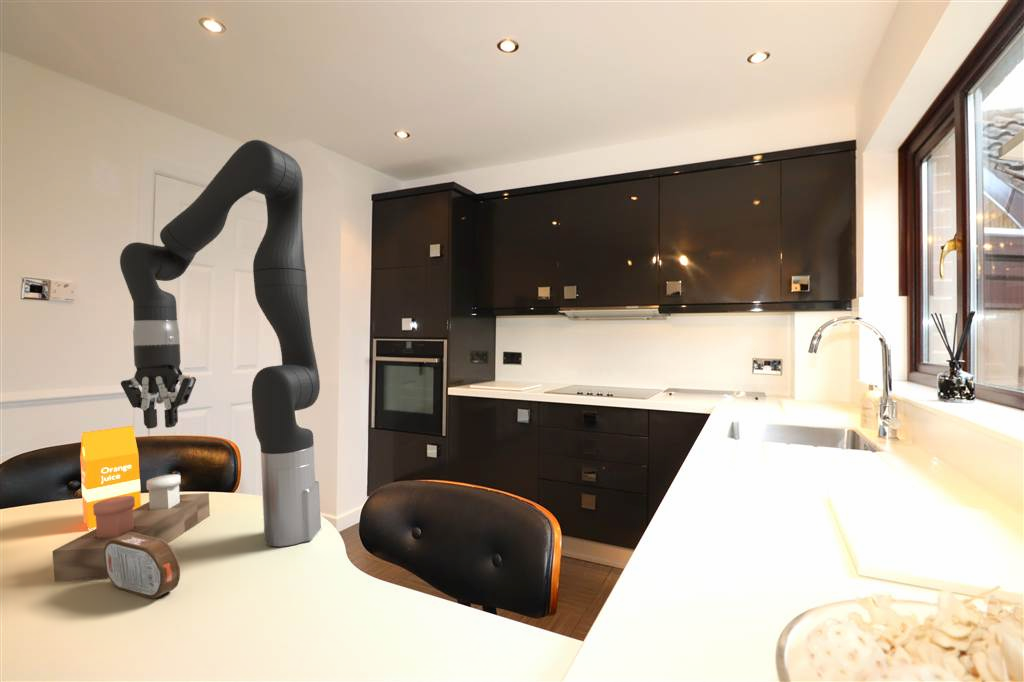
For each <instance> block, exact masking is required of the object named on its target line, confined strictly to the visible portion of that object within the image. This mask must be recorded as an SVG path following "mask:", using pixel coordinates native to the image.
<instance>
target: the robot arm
mask: <svg viewBox="0 0 1024 682" xmlns="http://www.w3.org/2000/svg"><path fill="white" fill-rule="evenodd" d="M303 178H304V177H303V172H302V169H301V166H300V164H299V162H298V161H297V160H296V159H295V158H294V157H293V156H292V155H290V154H288V153H286V152H285V151H283V150H281V149H279V148H278V147H276V146H273V145H272V144H270V143H268V142H267V141H264V140H260V139H252V140H249V141H246V142H245V143H244V144H242V145H240V146H239V147H238V148H237V149H236V150H235V152H234V153H233V154H232V155H231V156H230V157H229V159H228V160H227V161H226V162H225V164H224V165H223V166H222V167H221V168H220V170H219V171H218V172H217V173H216V175H214V177H213V178H212V180H211V181H210V182H209V183H208V185H207V186H206V188H205V189H204V190H203V191H202V192H201V193H200V194H199V196H198V197H197V198H196V199H195V200H194V201H192V203H191V204H190V205H188V207H187V208H186V209H185V210H183V211H182V212H180V213H179V214H178V215H177V216H175V218H173V219H172V220H171V221H169V222H168V223H166V225H165V226H164V227H163V228H162V229H161V231H159V238H160V241H161V242H162V244H163V246H162V245H157V244H156V245H155V244H150V243H145V242H139V241H138V242H131V243H129V244H128V245H126V246H125V247H124V248H123V249H122V251H121V254H120V256H119V266H120V269H121V272H122V275H123V278H124V281H125V284H126V286H127V290H128V291H129V295H130V298H131V299H132V302H133V303H132V304H133V308H132V309H133V328H132V329H133V330H132V337H133V358H134V359H133V360H134V362H133V363H134V367H135V368H136V372H135V374H134V375H133V377H131V378H129V379H125V380H122V381H120V386H121V388H122V390H123V392H124V393H125V396H126V398H127V399H128V401H129V403H130V405H131V406H132V408H135V409H137V408H138V409H141V410H142V411H143V425H144V426H145V428H146V429H147V430H151V429H154V428H157V427H158V411H157V408H156V407H157V406H156V405H157V398H159V396H160V398H161V399H162V401H163V405H164V408H165V409H164V423H165V424H164V425H165V428H166V429H168V428H173V427H175V426H176V425H177V424H178V422H179V416H178V408H179V407H180V406H184V405H186V404H187V403H188V402H189V400H190V397H191V394H192V392H193V389H194V387H195V385H196V384H195V383H197V378H196V377H195V376H187V375H185V374H183V372H182V370H181V368H180V367H181V363H182V362H181V344H180V343H181V342H180V329H179V324H178V316H177V315H178V314H177V313H178V312H177V310H178V309H177V300H176V296H175V295H174V294H172V293H170V292H167V291H165V290H162V289H161V288H160V286H159V284H158V281H160V282H161V281H162V282H170V281H174V280H176V279H178V278H179V277H181V276H182V275H184V273H185V272H186V271H187V269H188V268H189V266H190V264H191V263H192V262H193V260H194V258H195V256H196V255H197V254H198V252H201V250H203V249H204V248H205V247H207V246H208V245H209V244H211V242H213V241H214V240H215V239H216V238H217V237H218V236H219V235H220V234H221V233H222V231H223V229H224V227H225V225H226V222H227V219H228V216H229V213H230V211H231V208H232V207H233V206H234V205H235V204H236V203H237V202H238V201H239V200H240V199H241V198H243V197H244V196H246V195H248V194H250V193H253V192H256V193H258V194H261V195H264V198H265V203H266V204H265V205H266V213H267V215H266V216H267V222H266V223H267V224H266V229H265V232H264V235H263V237H262V239H261V241H260V243H259V246H258V248H257V250H256V252H255V255H254V258H253V262H252V263H253V264H252V272H253V273H252V274H253V283H254V285H253V286H254V295H255V299H256V302H257V304H258V306H259V308H260V309H261V311H262V313H263V315H264V316H265V318H266V320H267V321H268V323H269V324H270V326H271V327H272V329H273V331H274V333H275V334H276V337H277V339H278V342H279V348H280V353H281V364H280V365H271V366H266V367H264V368H262V369H260V370H258V372H257V373H256V374H255V375H254V378H253V381H252V385H251V402H252V404H251V405H252V413H253V423H254V431H255V436H256V438H257V439H258V442H259V444H260V445H259V446H260V462H261V463H260V465H261V485H262V509H263V511H262V512H263V533H264V543H265V544H266V545H268V546H270V547H287V546H293V545H297V544H300V543H303V542H310V541H311V540H313V538H314V537H315V536H316V535H317V534H318V532H319V531H320V530H321V528H322V525H321V524H322V523H321V522H322V521H321V520H322V519H321V518H322V517H321V501H320V500H321V498H320V497H321V495H320V482H319V481H318V480H316V471H315V470H316V469H315V450H314V449H315V448H314V443H315V442H314V432H313V431H312V430H311V429H309V428H305V427H302V426H299V424H297V419H296V411H301V410H305V409H308V408H310V407H312V406H313V405H315V403H316V401H317V400H318V397H319V395H320V391H321V390H320V388H321V386H320V385H321V382H320V381H321V380H320V375H319V369H318V364H317V359H316V353H315V349H314V342H313V336H312V329H311V320H310V319H311V318H310V311H309V302H308V301H309V300H308V282H307V281H308V280H307V279H308V278H307V273H306V272H307V271H306V270H307V268H306V263H305V251H304V234H303V194H304V191H303V190H304V188H303V187H304V183H303V182H304V181H303ZM177 385H179V389H178V387H177ZM140 387H141V389H140ZM177 389H178V390H177ZM159 394H160V395H159Z"/></svg>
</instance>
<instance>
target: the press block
mask: <svg viewBox="0 0 1024 682" xmlns="http://www.w3.org/2000/svg"><path fill="white" fill-rule="evenodd" d="M210 511H211V509H210V494H209V492H204V493H185V494H184V493H183V494H180V503H178V504H176V505H175V506H173V507H171V508H169V509H153V510H150V505H149V501H148V502H146V503H144V504H141V506H140V507H138V508H136V509H134V510H133V518H134V529H132V530H130V531H128V532H134V533H137V534H141V535H145V536H150V537H154V538H159V539H162V540H164V541H165V542H166V543H168V544H170V543H171V542H173V541H174V540H175V539H177V538H179V537H180V536H182V535H184V534H185V533H187V532H188V531H190V530H191V529H192V528H193V527H195V526H196V525H198V524H200V523H201V522H202V521H204V520H205V519H208V517H210V516H211V514H210V513H211V512H210ZM190 528H191V529H190ZM187 530H188V531H187ZM184 532H185V533H184ZM123 535H124V534H123ZM114 538H117V537H105V538H97V531H96V529H95V530H91V531H89V532H87V533H85V534H83V535H81V536H78V537H77V538H75V539H73V540H71V541H69V542H67V543H65V544H64V545H61V546H60V547H57V548H56V549H54V550H52V565H53V566H52V567H53V581H54V582H61V581H63V582H65V581H79V580H93V579H109V577H108V575H107V573H106V565H105V558H104V548H105V546H106V544H107V543H108V542H109V541H110V540H112V539H114ZM169 542H170V543H169Z"/></svg>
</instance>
